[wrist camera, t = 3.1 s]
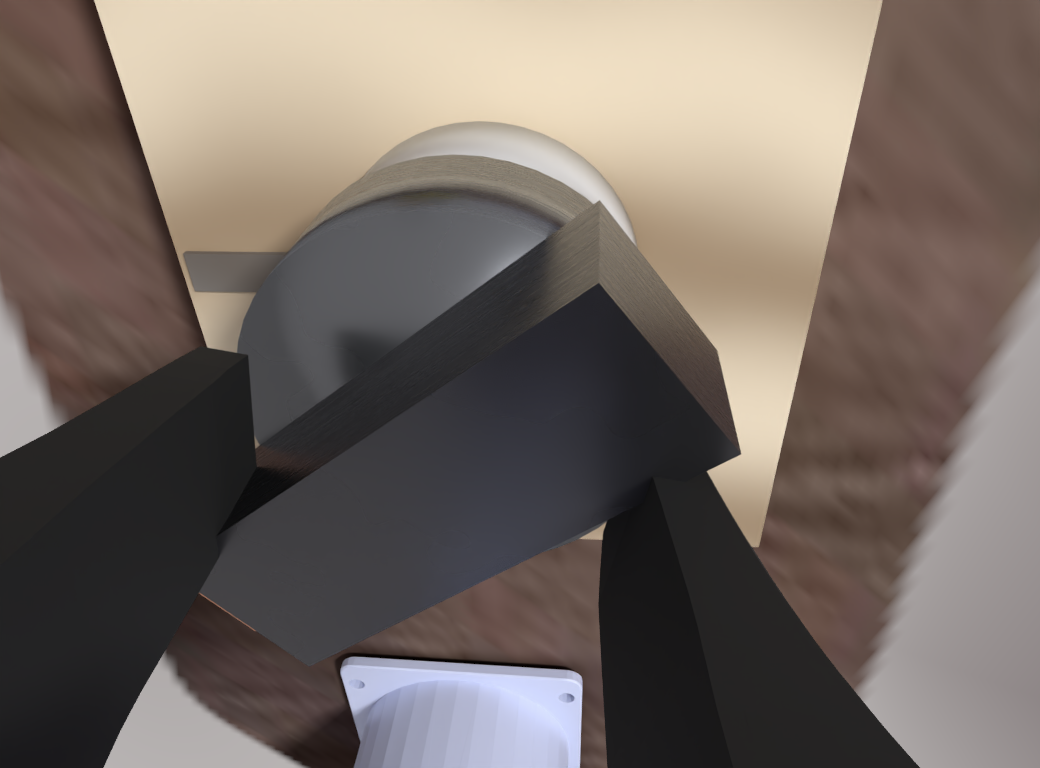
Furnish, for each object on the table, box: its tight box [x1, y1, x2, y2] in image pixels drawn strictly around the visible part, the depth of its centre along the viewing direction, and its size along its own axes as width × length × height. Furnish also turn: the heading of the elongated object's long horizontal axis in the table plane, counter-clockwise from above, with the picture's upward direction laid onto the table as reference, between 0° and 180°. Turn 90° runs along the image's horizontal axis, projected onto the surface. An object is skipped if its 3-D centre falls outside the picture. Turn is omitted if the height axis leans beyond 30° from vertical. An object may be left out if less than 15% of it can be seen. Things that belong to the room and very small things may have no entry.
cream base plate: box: [94, 0, 883, 547], centre depth 14 cm, size 14×12×4 cm
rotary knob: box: [199, 154, 741, 666], centre depth 11 cm, size 6×8×4 cm
